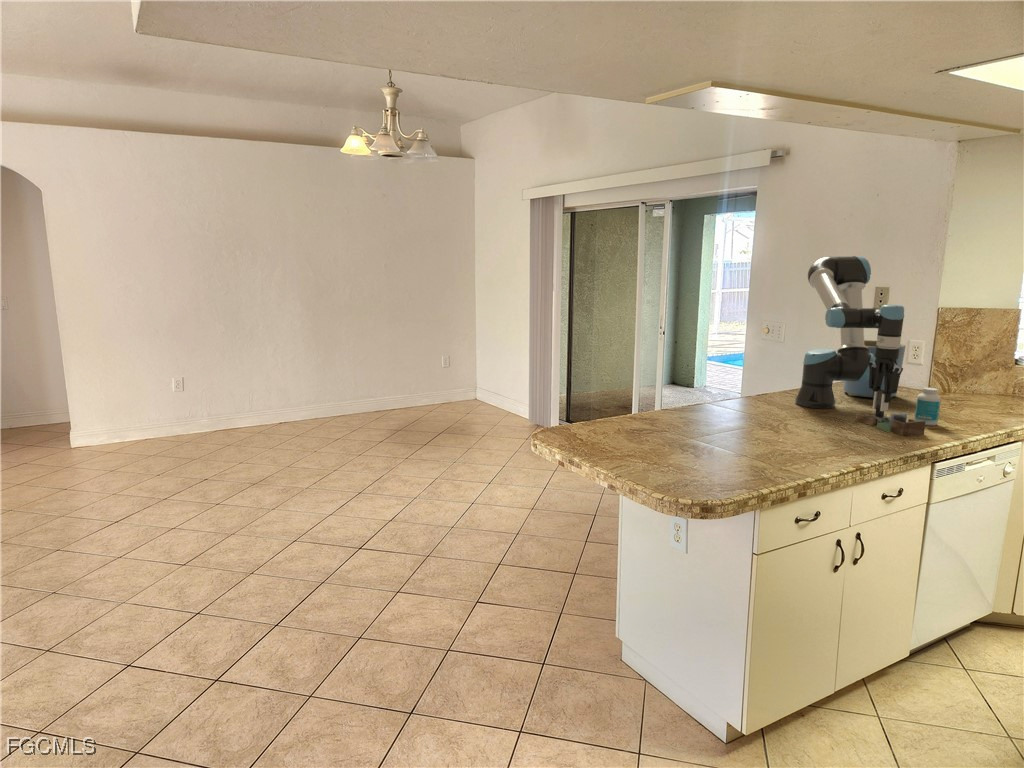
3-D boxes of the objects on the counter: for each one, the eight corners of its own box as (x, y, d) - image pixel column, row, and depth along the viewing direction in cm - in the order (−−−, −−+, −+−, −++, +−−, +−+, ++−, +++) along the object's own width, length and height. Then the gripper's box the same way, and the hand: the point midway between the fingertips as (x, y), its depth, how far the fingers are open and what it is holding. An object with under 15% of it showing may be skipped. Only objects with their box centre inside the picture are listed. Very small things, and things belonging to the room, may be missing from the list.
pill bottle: (940, 426, 231) (946, 391, 228) (918, 425, 233) (923, 390, 230) (931, 421, 238) (936, 387, 236) (910, 420, 240) (915, 386, 237)
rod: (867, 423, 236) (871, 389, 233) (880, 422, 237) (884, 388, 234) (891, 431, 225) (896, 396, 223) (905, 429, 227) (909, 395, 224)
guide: (855, 419, 240) (856, 413, 240) (870, 418, 242) (871, 412, 242) (872, 425, 233) (873, 419, 232) (887, 424, 235) (888, 417, 234)
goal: (891, 432, 224) (892, 418, 223) (909, 430, 226) (911, 417, 225) (905, 436, 219) (906, 422, 218) (923, 434, 221) (925, 421, 220)
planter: (897, 403, 267) (904, 349, 262) (838, 396, 279) (844, 344, 274) (899, 393, 286) (906, 342, 281) (843, 387, 298) (849, 338, 293)
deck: (876, 428, 229) (877, 423, 229) (898, 426, 232) (899, 421, 231) (889, 432, 224) (889, 426, 224) (911, 430, 227) (912, 425, 226)
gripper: (862, 344, 235) (855, 405, 240) (897, 351, 220) (889, 415, 225) (878, 344, 237) (871, 404, 242) (914, 350, 222) (906, 414, 227)
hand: (880, 409), depth 233 cm, fingers closed on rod, 3 cm apart
